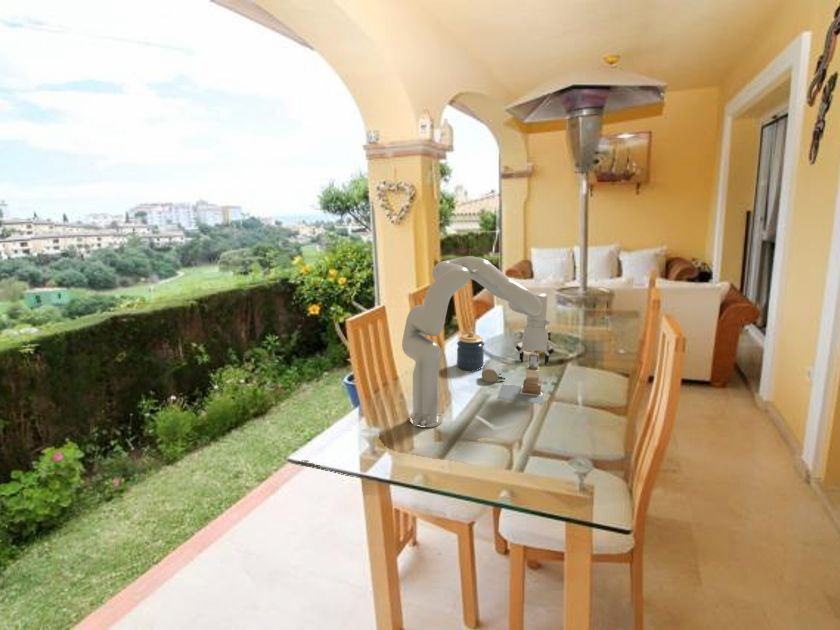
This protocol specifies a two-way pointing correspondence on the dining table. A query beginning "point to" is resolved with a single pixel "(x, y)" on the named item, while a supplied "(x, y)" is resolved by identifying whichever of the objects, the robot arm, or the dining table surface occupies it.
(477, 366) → the canister
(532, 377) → the beech block
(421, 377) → the robot arm
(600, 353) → the dining table surface
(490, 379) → the ceramic mug
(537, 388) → the walnut block
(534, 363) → the grey block
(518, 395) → the slate board
